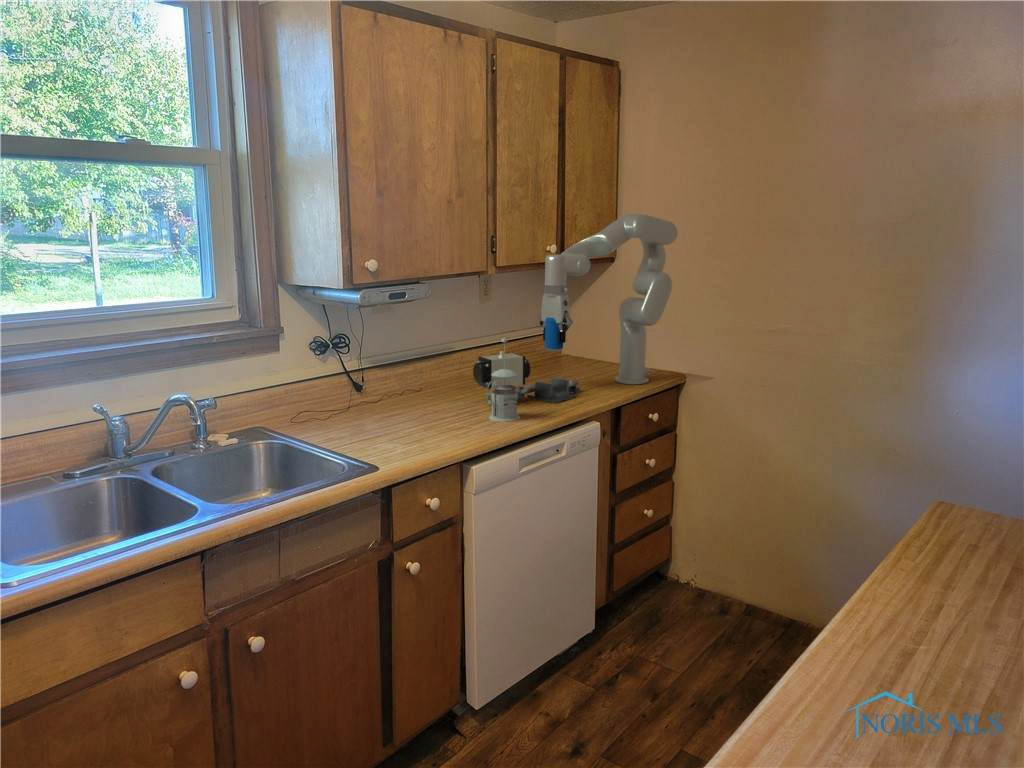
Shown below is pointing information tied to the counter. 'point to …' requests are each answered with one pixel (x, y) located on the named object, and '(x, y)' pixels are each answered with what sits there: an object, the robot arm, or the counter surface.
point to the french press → (503, 396)
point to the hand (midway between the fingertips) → (554, 341)
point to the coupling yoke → (549, 390)
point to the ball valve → (495, 363)
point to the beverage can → (552, 335)
